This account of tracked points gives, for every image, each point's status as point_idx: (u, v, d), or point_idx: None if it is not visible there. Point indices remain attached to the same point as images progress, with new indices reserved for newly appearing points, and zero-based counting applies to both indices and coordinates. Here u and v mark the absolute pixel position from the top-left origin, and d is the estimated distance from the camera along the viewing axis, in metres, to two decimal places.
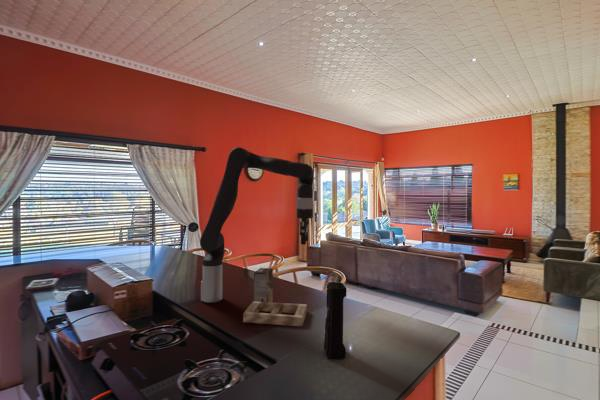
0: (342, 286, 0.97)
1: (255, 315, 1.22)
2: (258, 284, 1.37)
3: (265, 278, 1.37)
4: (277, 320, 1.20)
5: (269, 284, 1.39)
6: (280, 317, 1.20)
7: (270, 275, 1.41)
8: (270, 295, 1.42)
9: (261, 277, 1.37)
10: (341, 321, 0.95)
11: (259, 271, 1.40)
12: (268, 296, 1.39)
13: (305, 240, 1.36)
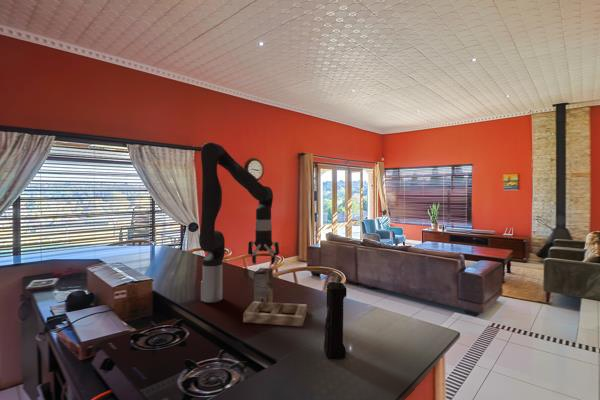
0: (342, 286, 0.97)
1: (255, 315, 1.22)
2: (258, 284, 1.37)
3: (265, 278, 1.37)
4: (277, 320, 1.20)
5: (269, 284, 1.39)
6: (280, 317, 1.20)
7: (270, 275, 1.41)
8: (270, 295, 1.42)
9: (261, 277, 1.37)
10: (341, 321, 0.95)
11: (259, 271, 1.40)
12: (268, 296, 1.39)
13: None
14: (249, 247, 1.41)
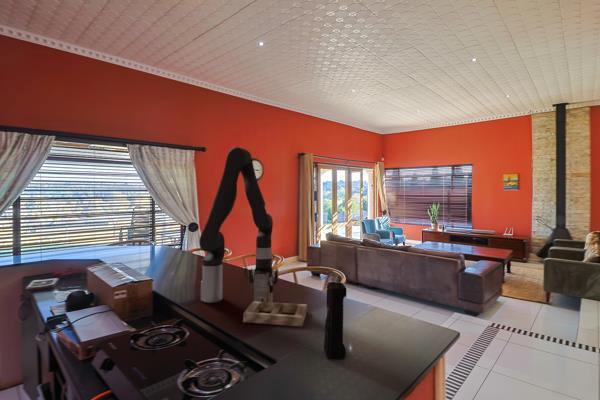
0: (342, 286, 0.97)
1: (255, 315, 1.22)
2: (258, 284, 1.37)
3: (265, 278, 1.37)
4: (277, 320, 1.20)
5: (269, 284, 1.39)
6: (280, 317, 1.20)
7: (270, 275, 1.41)
8: (270, 295, 1.42)
9: (261, 277, 1.37)
10: (341, 321, 0.95)
11: (259, 271, 1.40)
12: (268, 296, 1.39)
13: None
14: (250, 275, 1.41)
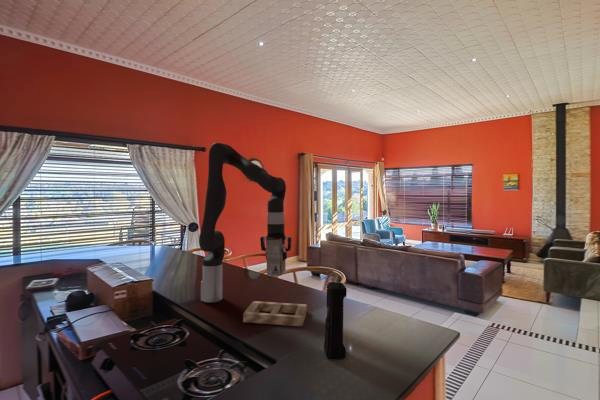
0: (342, 286, 0.97)
1: (255, 315, 1.22)
2: (271, 251, 1.30)
3: (278, 244, 1.29)
4: (277, 320, 1.20)
5: (282, 251, 1.32)
6: (280, 317, 1.20)
7: (283, 242, 1.34)
8: (283, 263, 1.34)
9: (274, 243, 1.29)
10: (341, 321, 0.95)
11: (271, 237, 1.32)
12: (281, 263, 1.31)
13: None
14: (261, 243, 1.33)
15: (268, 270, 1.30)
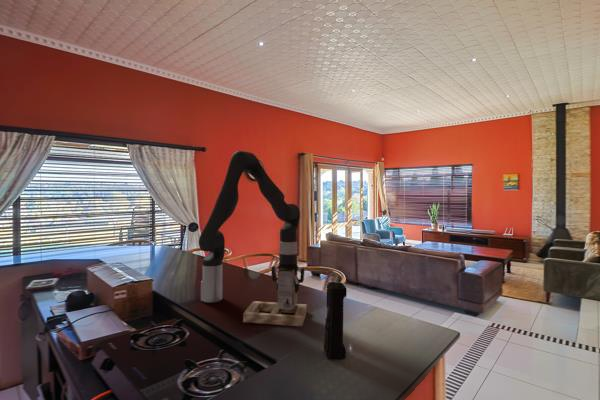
0: (342, 286, 0.97)
1: (255, 315, 1.22)
2: (283, 283, 1.22)
3: (291, 276, 1.22)
4: (277, 320, 1.20)
5: (294, 283, 1.24)
6: (280, 317, 1.20)
7: None
8: (295, 295, 1.27)
9: (286, 275, 1.22)
10: (341, 321, 0.95)
11: (284, 268, 1.25)
12: (294, 296, 1.24)
13: None
14: (273, 273, 1.26)
15: (279, 303, 1.23)
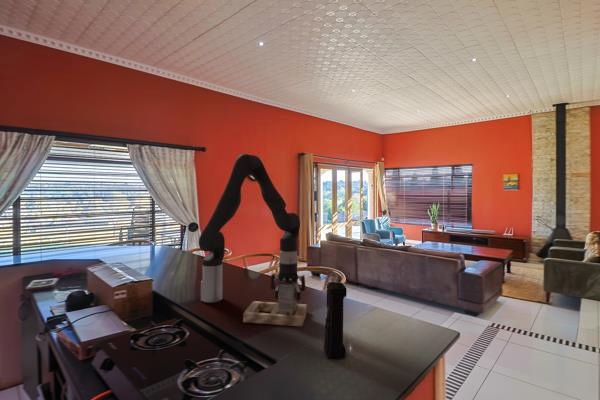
0: (342, 286, 0.97)
1: (255, 315, 1.22)
2: (283, 296, 1.22)
3: (291, 289, 1.22)
4: (277, 320, 1.20)
5: (294, 295, 1.25)
6: (280, 317, 1.20)
7: None
8: (295, 307, 1.27)
9: (287, 288, 1.22)
10: (341, 321, 0.95)
11: None
12: (294, 308, 1.24)
13: None
14: (272, 281, 1.26)
15: None
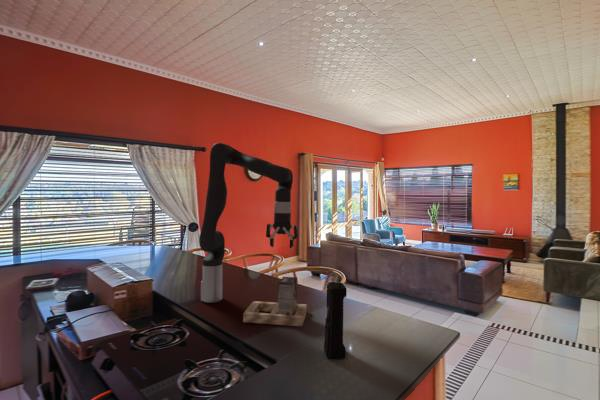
0: (342, 286, 0.97)
1: (255, 315, 1.22)
2: (283, 296, 1.22)
3: (291, 289, 1.22)
4: (277, 320, 1.20)
5: (294, 295, 1.25)
6: (280, 317, 1.20)
7: (295, 285, 1.27)
8: (295, 307, 1.27)
9: (286, 288, 1.22)
10: (341, 321, 0.95)
11: (284, 280, 1.25)
12: (294, 308, 1.24)
13: None
14: (267, 230, 1.38)
15: None
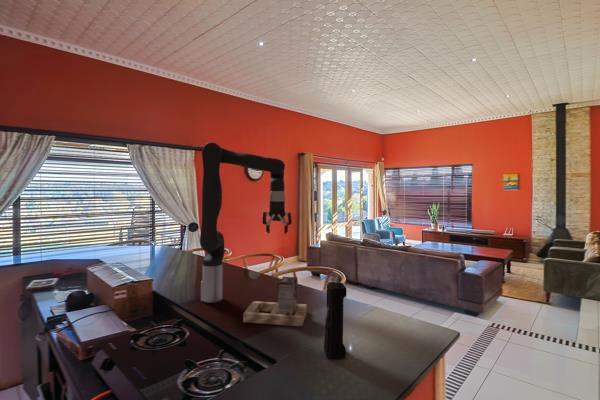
0: (342, 286, 0.97)
1: (255, 315, 1.22)
2: (283, 296, 1.22)
3: (291, 289, 1.22)
4: (277, 320, 1.20)
5: (294, 295, 1.25)
6: (280, 317, 1.20)
7: (295, 285, 1.27)
8: (295, 307, 1.27)
9: (286, 288, 1.22)
10: (341, 321, 0.95)
11: (284, 280, 1.25)
12: (294, 308, 1.24)
13: None
14: (263, 217, 1.50)
15: None
